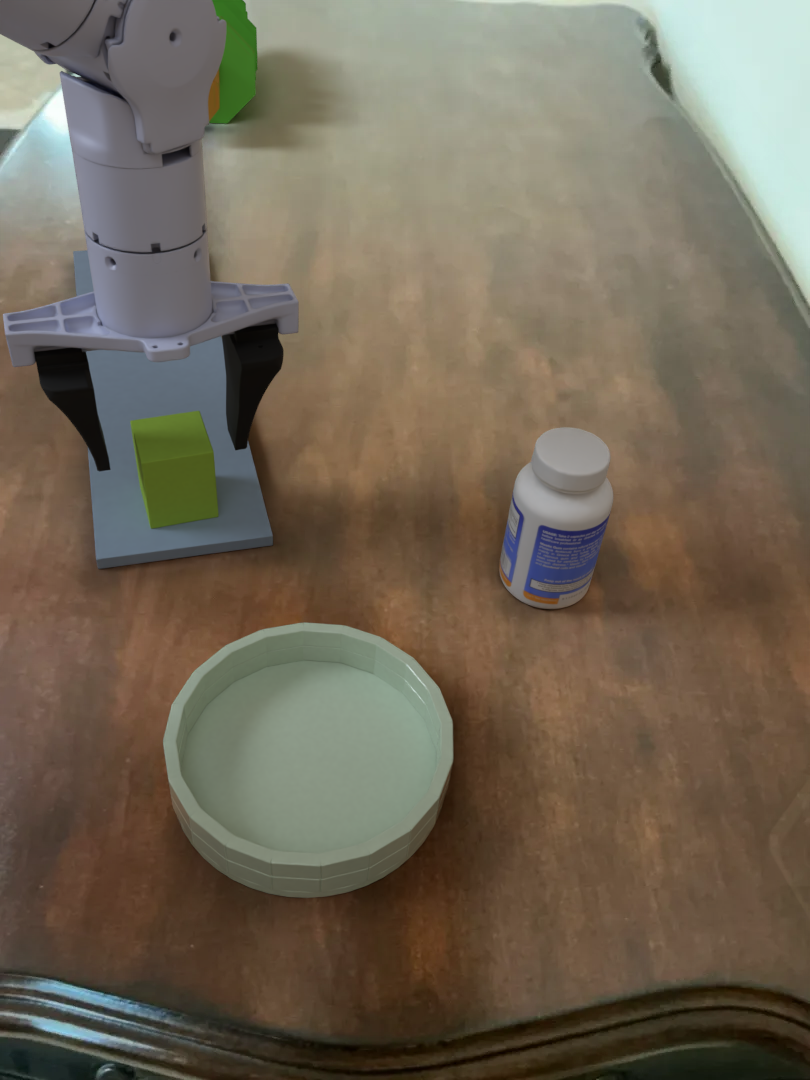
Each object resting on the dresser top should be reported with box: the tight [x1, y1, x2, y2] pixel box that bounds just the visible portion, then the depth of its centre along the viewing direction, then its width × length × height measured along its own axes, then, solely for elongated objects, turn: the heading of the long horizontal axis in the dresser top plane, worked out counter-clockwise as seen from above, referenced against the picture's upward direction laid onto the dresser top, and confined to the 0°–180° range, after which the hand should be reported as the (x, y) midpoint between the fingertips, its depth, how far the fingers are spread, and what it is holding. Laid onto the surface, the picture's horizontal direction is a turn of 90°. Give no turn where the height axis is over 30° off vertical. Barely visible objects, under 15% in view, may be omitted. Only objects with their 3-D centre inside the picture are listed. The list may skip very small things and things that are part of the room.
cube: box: [130, 411, 219, 529], centre depth 57 cm, size 4×4×5 cm
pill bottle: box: [498, 426, 614, 610], centre depth 54 cm, size 5×5×10 cm
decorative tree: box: [208, 0, 259, 124], centre depth 104 cm, size 11×12×30 cm
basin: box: [162, 621, 454, 899], centre depth 46 cm, size 13×13×3 cm
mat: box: [72, 249, 274, 570], centre depth 68 cm, size 36×10×1 cm, turn 16°
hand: (171, 449), depth 56 cm, fingers open, 7 cm apart
